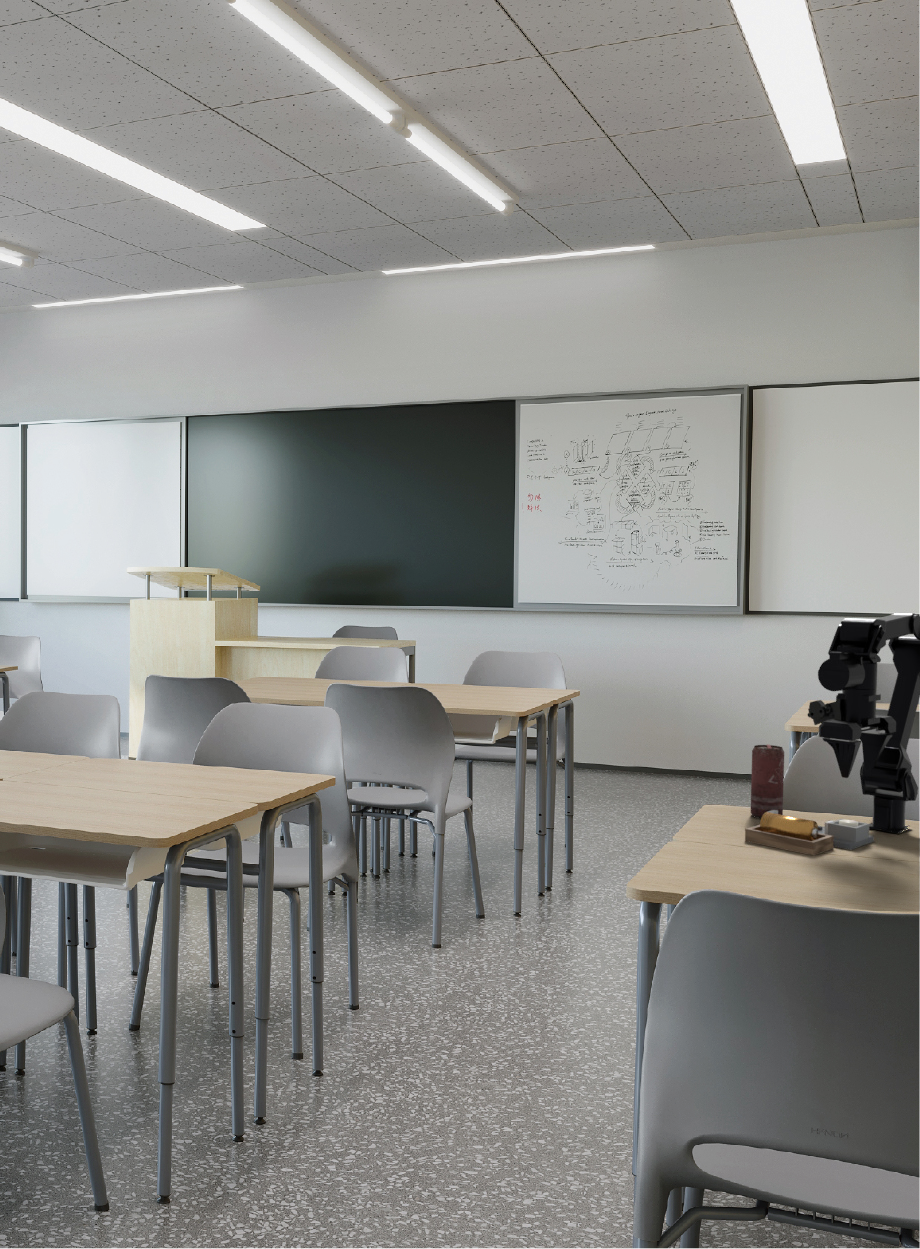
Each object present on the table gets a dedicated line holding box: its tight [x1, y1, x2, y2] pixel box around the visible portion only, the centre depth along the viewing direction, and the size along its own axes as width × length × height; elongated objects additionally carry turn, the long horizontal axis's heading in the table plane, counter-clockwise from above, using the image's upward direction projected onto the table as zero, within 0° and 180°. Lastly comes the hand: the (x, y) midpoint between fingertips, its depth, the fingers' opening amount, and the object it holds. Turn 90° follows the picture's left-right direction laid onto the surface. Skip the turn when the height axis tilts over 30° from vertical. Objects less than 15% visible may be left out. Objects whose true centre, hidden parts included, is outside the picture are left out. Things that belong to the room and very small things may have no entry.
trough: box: [744, 824, 834, 856], centre depth 182 cm, size 7×13×2 cm, turn 44°
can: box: [750, 744, 785, 820], centre depth 205 cm, size 6×6×14 cm
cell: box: [759, 812, 819, 841], centre depth 182 cm, size 4×10×4 cm, turn 44°
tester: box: [768, 810, 875, 851], centre depth 189 cm, size 9×18×4 cm, turn 44°
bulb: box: [838, 819, 859, 827], centre depth 184 cm, size 3×3×2 cm
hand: (856, 774), depth 185 cm, fingers open, 9 cm apart
